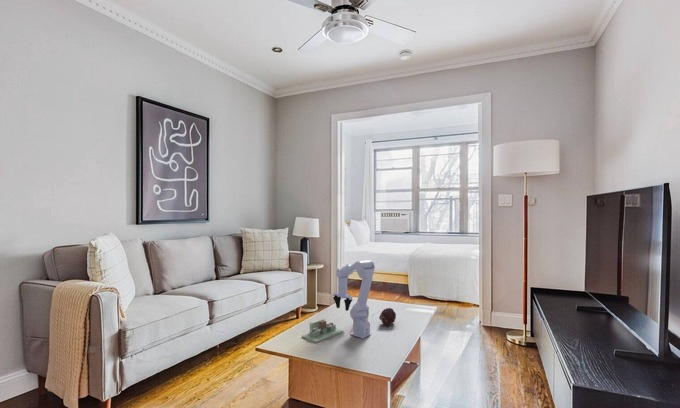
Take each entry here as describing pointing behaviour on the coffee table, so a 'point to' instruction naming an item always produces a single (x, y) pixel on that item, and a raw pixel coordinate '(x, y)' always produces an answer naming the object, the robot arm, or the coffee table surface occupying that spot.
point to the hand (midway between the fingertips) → (342, 309)
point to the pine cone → (388, 316)
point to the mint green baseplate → (321, 332)
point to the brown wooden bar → (322, 326)
